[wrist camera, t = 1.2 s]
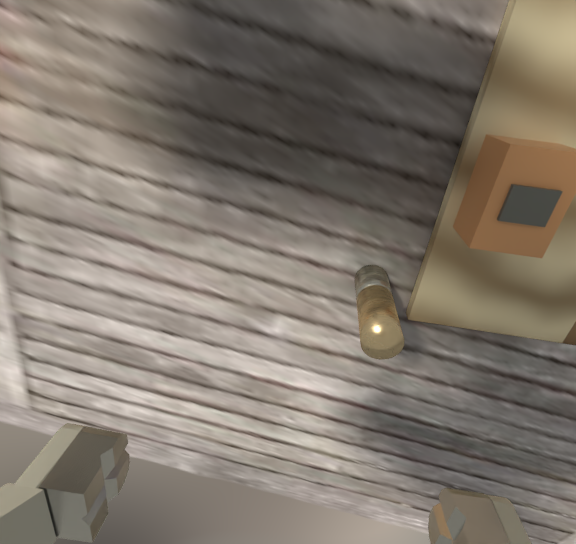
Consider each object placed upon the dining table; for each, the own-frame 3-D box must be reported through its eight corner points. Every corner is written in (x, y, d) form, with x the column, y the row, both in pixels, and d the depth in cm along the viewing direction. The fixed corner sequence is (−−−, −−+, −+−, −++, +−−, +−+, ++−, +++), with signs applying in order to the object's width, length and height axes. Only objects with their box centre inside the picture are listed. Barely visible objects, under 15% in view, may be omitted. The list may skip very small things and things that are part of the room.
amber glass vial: (358, 262, 32) (365, 323, 24) (391, 267, 32) (409, 329, 24) (351, 290, 34) (356, 355, 26) (383, 295, 34) (398, 362, 26)
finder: (486, 134, 25) (512, 144, 21) (559, 143, 25) (599, 155, 21) (452, 226, 28) (470, 249, 25) (516, 235, 28) (544, 260, 24)
